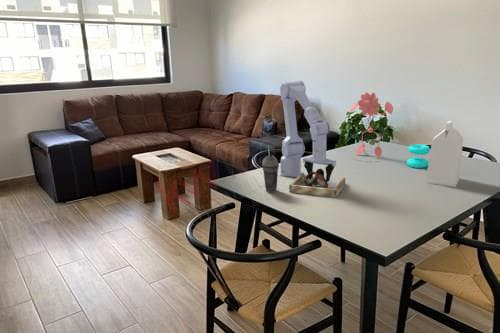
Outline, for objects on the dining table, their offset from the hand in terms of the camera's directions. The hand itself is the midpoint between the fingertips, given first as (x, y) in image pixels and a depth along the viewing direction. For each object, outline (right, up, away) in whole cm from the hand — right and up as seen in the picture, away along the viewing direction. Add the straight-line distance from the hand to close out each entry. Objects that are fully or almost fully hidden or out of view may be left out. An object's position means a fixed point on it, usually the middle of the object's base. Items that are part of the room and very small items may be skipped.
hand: (319, 179), depth 166 cm
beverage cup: (-21, -5, -1) cm, 22 cm away
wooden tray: (-1, -3, -1) cm, 4 cm away
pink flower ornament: (+33, +11, +40) cm, 53 cm away
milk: (+54, -1, +1) cm, 54 cm away
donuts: (+53, +6, +23) cm, 58 cm away
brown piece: (-1, -3, 0) cm, 3 cm away
